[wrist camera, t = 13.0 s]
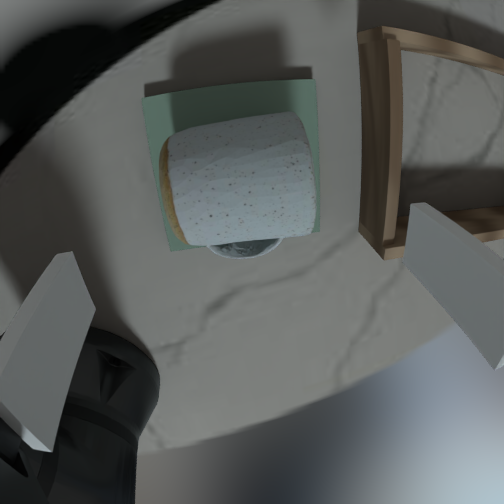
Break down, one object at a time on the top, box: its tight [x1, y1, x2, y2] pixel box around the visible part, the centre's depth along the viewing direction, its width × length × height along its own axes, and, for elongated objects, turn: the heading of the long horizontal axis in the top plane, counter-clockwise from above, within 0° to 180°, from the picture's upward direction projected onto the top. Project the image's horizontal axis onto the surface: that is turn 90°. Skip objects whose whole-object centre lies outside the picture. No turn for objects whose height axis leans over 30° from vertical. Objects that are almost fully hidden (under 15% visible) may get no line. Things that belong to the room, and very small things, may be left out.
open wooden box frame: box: [357, 26, 504, 260], centre depth 21 cm, size 24×17×5 cm
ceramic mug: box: [159, 111, 317, 259], centre depth 19 cm, size 11×8×8 cm
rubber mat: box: [141, 79, 320, 251], centre depth 22 cm, size 12×12×1 cm
